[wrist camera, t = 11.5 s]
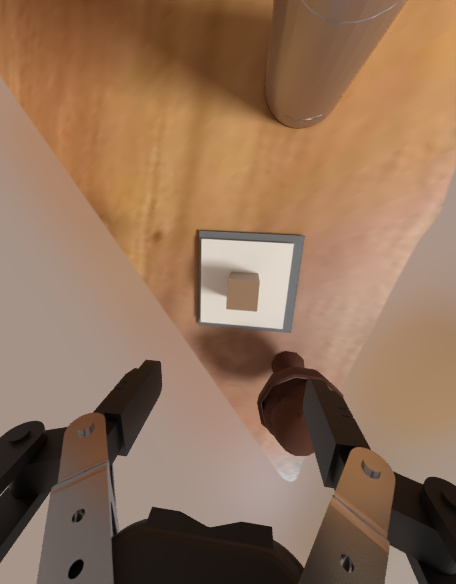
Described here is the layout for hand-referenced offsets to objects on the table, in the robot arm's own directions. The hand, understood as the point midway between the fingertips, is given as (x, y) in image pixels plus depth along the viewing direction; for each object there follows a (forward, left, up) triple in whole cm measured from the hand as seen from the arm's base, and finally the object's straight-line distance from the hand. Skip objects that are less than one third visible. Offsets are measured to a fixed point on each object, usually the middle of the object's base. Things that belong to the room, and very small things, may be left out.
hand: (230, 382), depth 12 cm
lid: (0, 0, -22) cm, 22 cm away
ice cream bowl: (+14, +8, -23) cm, 28 cm away
